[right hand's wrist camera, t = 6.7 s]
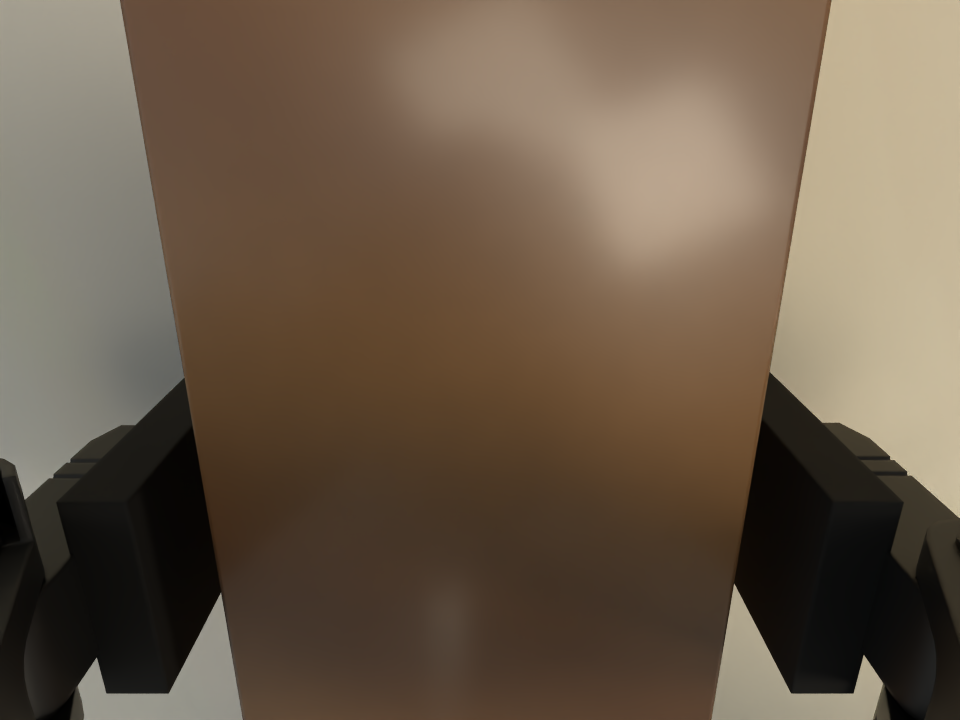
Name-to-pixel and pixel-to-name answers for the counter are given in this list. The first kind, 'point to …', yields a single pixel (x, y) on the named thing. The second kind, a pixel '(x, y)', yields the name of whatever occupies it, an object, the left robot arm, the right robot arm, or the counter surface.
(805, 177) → the counter surface
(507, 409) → the post
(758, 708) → the counter surface
